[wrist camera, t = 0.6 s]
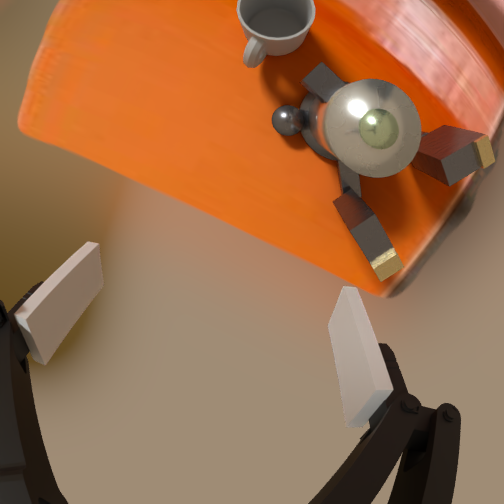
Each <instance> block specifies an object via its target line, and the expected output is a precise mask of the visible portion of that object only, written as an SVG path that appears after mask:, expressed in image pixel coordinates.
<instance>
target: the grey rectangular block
mask: <svg viewBox="0 0 504 504" xmlns="http://www.w3.org/2000/svg"><path fill="white" fill-rule="evenodd" d="M411 162H412V165H413V167H414V168H416V169H418V170H420V171H422V172H424V173H426V174H428V175H430V176H432V177H433V178H435V179H437V180H439V181H441V182H443V183H444V184H446V185H448V186H451V185H453V184H454V183H456V182H458V181H459V180H461V179H463V178H464V177H466V176H468V175H469V174H471V173H472V172H474V171H476V170H477V169H479V168H480V167H481V168H486V167H487V166H489V165H491V164H492V163H494V162H495V159H494V155H493V151H492V147H491V144H490V140H489V137H488V135H485V134H482V133H478V132H474V131H470V130H465V129H461V128H456V127H452V126H447V125H443V126H441V127H439V128H437V129H436V130H434V131H432V132H430V133H426V132H421V140H420V145H419V148H418V151H417V153H416V155H415V157H414V158H413V160H412V161H411Z"/></svg>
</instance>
